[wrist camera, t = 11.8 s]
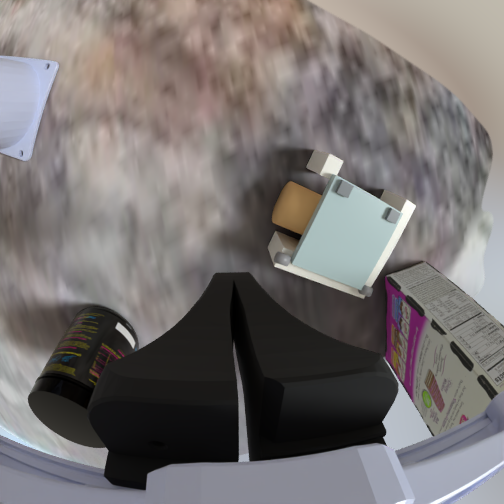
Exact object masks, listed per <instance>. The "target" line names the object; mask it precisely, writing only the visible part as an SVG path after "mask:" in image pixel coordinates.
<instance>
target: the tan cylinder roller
mask: <svg viewBox="0 0 504 504" xmlns="http://www.w3.org/2000/svg"><path fill="white" fill-rule="evenodd" d="M321 197H322V195H320V194H318V193H315V192H313V191H311V190H309V189H307V188H305V187H303V186H301V185H298V184H296V183H294V182H292V181H289V182H288V183H287V184H286V185H285V186H284V188H283V189H282V191H281V193H280V195H279V198H278V200H277V202H276V204H275V206H274V210H273V214H272V222H273V223H274V224H277V225H279V226H282V227H284V228H287V229H289V230H291V231H294V232H296V233H299V234H301V235H303V233H304V231H305V229H306V227H307V225H308V223H309V221H310V219H311V217H312V215H313V213H314V211H315V209H316V207H317V205H318V203H319V201H320V199H321Z"/></svg>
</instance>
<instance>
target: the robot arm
mask: <svg viewBox="0 0 504 504" xmlns="http://www.w3.org/2000/svg"><path fill="white" fill-rule="evenodd" d="M49 64H50V66H49V68H48V69H47V67H48V65H49ZM58 68H59V64H58V62H55V61H49V60H41V59H33V58H23V57H12V56H0V153H3V154H6V155H8V156H11V157H14V158H17V159H19V160H22V161H28V160H30V158H31V156H32V152H33V147H34V143H35V139H36V135H37V131H38V127H39V124H40V120H41V117H42V114H43V110H44V107H45V104H46V101H47V98H48V95H49V92H50V89H51V86H52V84H53V81H54V78H55V76H56V73H57V71H58ZM22 151H23V156H22V154H21V152H22ZM233 343H235V348H236V354H237V359H238V365H239V370H240V375H241V380H242V386H243V392H244V403H245V414H246V426H247V438H248V449H249V460H250V462H238V460H239V414H238V391H237V379H236V373H235V365H234V357H233ZM397 393H398V382H397V380H396V378H395V377H394V375H393V373H392V371H391V370H390V368H389V366H388V365H387V363H386V362H385V360H384V359H383V357H382V356H381V355H380V354H379V353H375V352H372V351H368V350H365V349H361V348H358V347H354V346H351V345H348V344H346V343H343V342H341V341H338V340H335V339H333V338H331V337H329V336H327V335H324V334H322V333H320V332H319V331H317V330H315V329H313V328H311V327H309V326H308V325H306V324H304V323H303V322H301V321H300V320H298V319H297V318H295V317H294V316H292V315H291V314H290V313H288V312H287V311H286V310H284V309H283V308H282V307H281V306H280V305H279V304H278V303H276V302H275V301H274V300H273V299H272V298H271V297H270V296H269V295H268V294H267V293H266V292H265V290H264V289H263V288H262V287H261V286H260V285H259V284H258V282H257V281H256V280H255V279H254V277H253V276H252V275H251V274H250V273H249V272H238V273H215V274H214V275H213V278H212V280H211V282H210V283H209V285H208V287H207V288H206V290H205V291H204V293H203V294H202V296H201V297H200V299H199V300H198V301H197V302H196V304H195V305H194V306H193V307H192V308H191V310H190V311H189V312H188V313H187V314H186V315H185V316H184V317H183V318H182V319H181V320H180V321H179V322H178V323H177V324H176V325H175V326H174V327H172V328H171V329H170V330H169V331H167V332H166V333H165V334H163V335H162V336H161V337H159V338H158V339H156V340H155V341H153V342H151V343H150V344H148V345H146V346H145V347H143V348H141V349H139V350H137V351H135V352H133V353H131V354H129V355H127V356H124V357H122V358H120V359H118V360H115V361H113V362H110V363H108V364H106V366H105V368H104V370H103V371H102V373H101V375H100V377H99V379H98V381H97V383H96V386H95V388H94V391H93V394H92V397H91V400H90V402H89V405H88V408H87V418H88V420H89V422H90V424H91V426H92V428H93V429H94V431H95V432H96V433H97V435H98V436H99V438H100V439H101V441H102V442H103V444H104V445H105V446H106V448H107V449H108V450H109V452H108V456H107V461H106V466H105V469H101V468H96V467H92V466H88V465H84V464H80V463H76V462H72V461H69V460H65V459H62V458H59V457H56V456H52V455H49V454H46V453H43V452H41V451H38V450H35V449H32V448H30V447H27V446H24V445H22V444H20V443H17V442H15V441H12V440H10V439H8V438H6V437H3V436H1V435H0V504H453V503H454V502H456V501H458V500H459V499H461V498H463V497H464V496H466V495H467V494H469V493H470V492H471V491H473V490H475V489H476V488H477V487H479V486H480V485H482V484H483V483H485V482H486V481H487V480H489V479H490V478H491V477H493V476H494V475H495V474H497V473H498V472H499V471H500V470H502V469H503V468H504V391H502V392H500V393H499V394H498V395H497V396H495V397H494V398H493V400H492V401H491V402H490V403H489V405H488V406H487V407H486V409H485V411H484V412H482V413H480V414H478V415H476V416H475V417H473V418H471V419H469V420H467V421H465V422H463V423H461V424H459V425H457V426H455V427H453V428H451V429H449V430H447V431H444V432H442V433H440V434H438V435H435V436H433V437H431V438H429V439H426V440H424V441H421V442H419V443H416V444H413V445H411V446H408V447H405V448H402V449H400V450H397V451H394V449H392V448H390V447H388V446H387V445H386V443H385V441H384V439H383V437H384V436H385V435H386V429H385V427H384V425H383V423H382V421H383V419H384V418H385V416H386V415H387V413H388V411H389V409H390V408H391V406H392V404H393V402H394V401H395V398H396V396H397Z"/></svg>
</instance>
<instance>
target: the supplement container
mask: <svg viewBox="0 0 504 504" xmlns="http://www.w3.org/2000/svg"><path fill="white" fill-rule="evenodd" d="M137 350H139V343H138V338H137V335H136V333H135V331H134V329H133V327H132V326H131V325H130V323H129V322H128V321H127V320H126V319H125V318H123V317H122V316H121V315H119V314H118V313H116V312H114V311H112V310H110V309H107V308H103V307H89V308H86V309H84V310H82V311H80V312H79V313H78V314H77V315H76V316H75V318H74V319H73V321H72V323H71V324H70V326H69V327H68V329H67V330H66V332H65V334H64V335H63V337H62V338H61V340H60V342H59V343H58V345H57V347H56V348H55V350H54V352H53V353H52V355H51V357H50V359H49V360H48V362H47V364H46V366H45V367H44V369H43V371H42V373H41V375H40V376H39V377H38V378H37V380H36V382H35V385H34V387H33V388H32V390H31V392H30V394H29V396H28V403H29V406H30V408H31V409H32V411H33V413H34V414H35V415H36V416H37V418H38V419H39V420H40V421H41V422H42V423H43V424H45V425H46V426H47V427H48V428H50V429H51V430H52V431H54V432H55V433H57V434H58V435H60V436H62V437H64V438H66V439H68V440H70V441H72V442H75V443H77V444H80V445H84V446H88V447H93V448H104V447H106V446H105V445H104V444H103V442H102V441H101V439H100V438H99V436H98V435H97V433H96V432H95V431H94V429H93V428H92V426H91V424H90V422H89V420H88V418H87V408H88V405H89V402H90V400H91V397H92V394H93V391H94V388H95V386H96V383H97V381H98V379H99V377H100V375H101V373H102V371H103V370H104V368H105V366H106V364H108V363H110V362H113V361H115V360H118V359H120V358H122V357H124V356H127V355H129V354H131V353H133V352H135V351H137Z"/></svg>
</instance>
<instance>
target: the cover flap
mask: <svg viewBox="0 0 504 504" xmlns="http://www.w3.org/2000/svg"><path fill="white" fill-rule="evenodd" d="M402 215H403V213H401V212H400V211H398V210H396V209H395V208H393V207H392V206H390V205H388V204H387V203H385V202H383V201H381V200H380V199H378V198H376V197H375V196H373V195H371V194H369V193H368V192H366V191H364V190H362V189H361V188H359V187H357V186H355V185H354V184H352V183H350V182H348V181H346V180H344V179H342V178H341V177H339V176H337V175H335V174H332V176H331V178H330V180H329V182H328V184H327V186H326V188H325V190H324V192H323V195H322V197H321V199H320V201H319V203H318V205H317V207H316V209H315V211H314V213H313V215H312V217H311V219H310V221H309V223H308V225H307V227H306V229H305V231H304V233H303V235H302V237H301V239H300V241H299V243H298V245H297V247H296V249H295V251H294V253H293V255H292V257H291V260H290V262H291V264H293V265H295V266H298V267H301V268H303V269H306V270H309V271H311V272H314V273H317V274H319V275H322V276H325V277H327V278H330V279H333V280H335V281H338V282H341V283H343V284H346V285H349V286H351V287H354V288H356V289H359V290H361V289H362V288H363V286H364V284H365V283H366V281H367V279H368V278H369V276H370V274H371V273H372V271H373V269H374V267H375V266H376V264H377V262H378V260H379V258H380V257H381V255H382V253H383V251H384V249H385V248H386V246H387V244H388V242H389V240H390V238H391V236H392V234H393V233H394V231H395V229H396V227H397V225H398V223H399V221H400V219H401V217H402Z"/></svg>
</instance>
